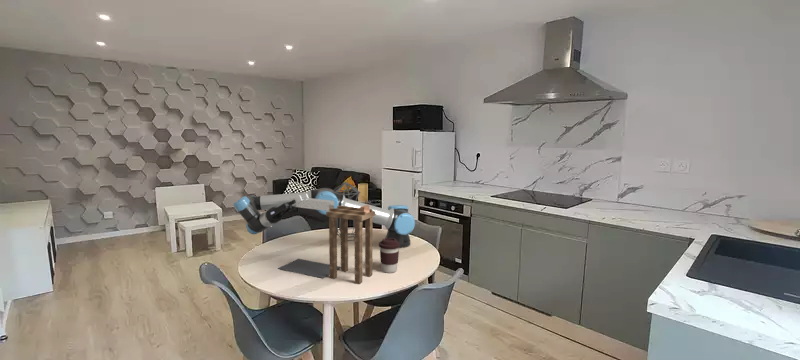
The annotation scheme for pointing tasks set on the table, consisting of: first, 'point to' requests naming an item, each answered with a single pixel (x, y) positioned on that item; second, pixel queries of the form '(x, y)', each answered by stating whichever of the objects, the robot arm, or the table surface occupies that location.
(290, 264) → the mat
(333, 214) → the stand
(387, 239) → the coffee cup
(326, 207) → the bar
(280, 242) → the table surface
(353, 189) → the geometric lantern
